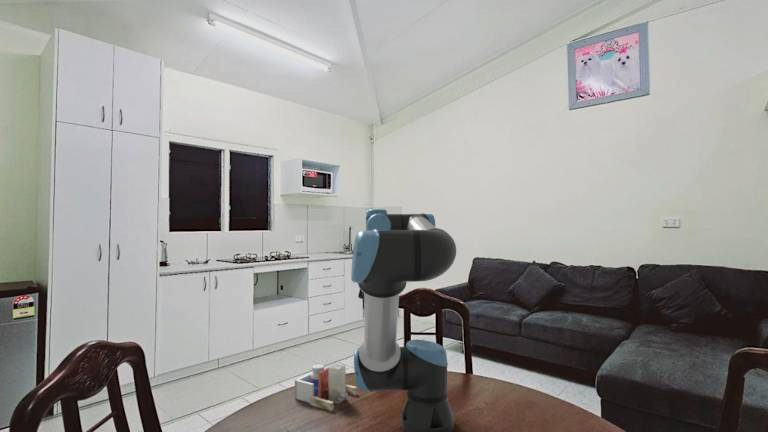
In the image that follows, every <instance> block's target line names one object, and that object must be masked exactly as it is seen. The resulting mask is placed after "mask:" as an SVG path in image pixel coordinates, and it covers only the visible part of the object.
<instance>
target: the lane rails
mask: <svg viewBox="0 0 768 432" xmlns="http://www.w3.org/2000/svg"><path fill="white" fill-rule="evenodd" d="M346 393H347V394H348V395H352V396H357V395H358V387H357V386H355V385H351V384H347V383H346ZM309 405H310V406H313V407H314V408H315V407H316V408H320V409H322V410H325V411H326V410H327V411H328V412H329V411H330V412H333V411H334V409H335V407H334V406H335V403H334V402H332V401H329V399H326V398H324V399H322V398H318V397H314V396H311V397H310V403H309Z"/></svg>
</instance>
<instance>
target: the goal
mask: <svg viewBox="0 0 768 432" xmlns="http://www.w3.org/2000/svg"><path fill="white" fill-rule="evenodd" d="M312 372H313V371H311V372H309V373H307V374H304V375H303V376H301V377H299V378H297V379H294V399H296V400H299V401H303V402H306V403H309V404H310V397H311V396H314V384H313V383H310V374H311V373H312Z"/></svg>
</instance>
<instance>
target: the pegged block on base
mask: <svg viewBox="0 0 768 432" xmlns="http://www.w3.org/2000/svg"><path fill="white" fill-rule="evenodd" d="M346 372H347V370H346V365H345V364H340V363H335V364H333V365H330V366H328V367H327V368H324V370H322V371H320V372H318V398H322V399H326V398H327V397H328V400H329V401H332V402H334V404H337V405H339V404H340V403H342V402H343V401H345V400H346V401H347V400H348V399H349V395H350V394H348V393H346V384H347V380H346Z"/></svg>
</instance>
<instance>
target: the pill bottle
mask: <svg viewBox="0 0 768 432" xmlns="http://www.w3.org/2000/svg"><path fill="white" fill-rule="evenodd" d="M311 369H312V371H311V372H312V373H311V372H310V373H311V374H310V383H313V384H314V397H318V372H320V371H322V370H324V369H325V365H324V364H319V363H317V364H314V365H312V368H311Z"/></svg>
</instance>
